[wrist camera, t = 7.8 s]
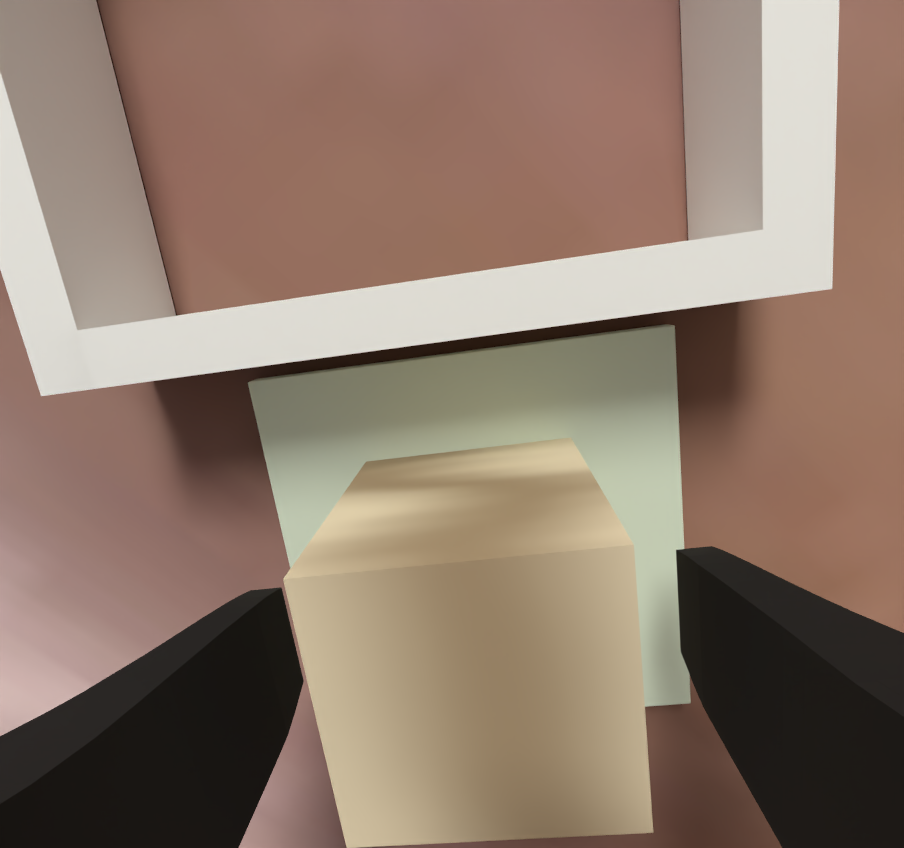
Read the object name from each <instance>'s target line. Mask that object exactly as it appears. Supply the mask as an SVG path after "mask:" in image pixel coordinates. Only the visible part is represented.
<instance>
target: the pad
mask: <svg viewBox="0 0 904 848" xmlns="http://www.w3.org/2000/svg"><path fill="white" fill-rule="evenodd" d="M248 386H249V391H250V395H251V399H252V404H253V408H254V412H255V417H256V421H257V425H258V430H259V434H260V438H261V443H262V447H263V451H264V456H265V460H266V464H267V469H268V473H269V477H270V482H271V486H272V491H273V495H274V499H275V504H276V508H277V512H278V517H279V521H280V525H281V530H282V534H283V538H284V543H285V547H286V551H287V556H288V560H289V564H290V569H291V567H292V566H293V565H294V563H295V562H296V560H297V559H298V558H299V556H300V555H301V553H302V552H303V550H304V549H305V548H306V546H307V545H308V543H309V542H310V540H311V539H312V538H313V536H314V535H315V533H316V532H317V530H318V529H319V528H320V526H321V525H322V523H323V522H324V521H325V519H326V518H327V516H328V515H329V513H330V512H331V511H332V509H333V508H334V506H335V505H336V503H337V502H338V501H339V499H340V498H341V496H342V495H343V494H344V492H345V491H346V489H347V488H348V486H349V485H350V484H351V482H352V481H353V479H354V478H355V476H356V475H357V474H358V472H359V471H360V469H361V468H362V467H363V465H364V464H365V462H367V461H376V460H384V459H393V458H401V457H410V456H418V455H427V454H435V453H444V452H452V451H461V450H469V449H477V448H486V447H494V446H503V445H511V444H520V443H528V442H537V441H545V440H554V439H562V438H572V440H573V442H574V444H575V445H576V447H577V449H578V450H579V452H580V454H581V455H582V457H583V459H584V461H585V462H586V464H587V466H588V467H589V469H590V471H591V472H592V474H593V476H594V478H595V479H596V481H597V483H598V484H599V486H600V488H601V490H602V491H603V493H604V495H605V496H606V498H607V500H608V501H609V503H610V505H611V507H612V508H613V510H614V512H615V513H616V515H617V517H618V518H619V520H620V522H621V524H622V525H623V527H624V529H625V530H626V532H627V534H628V536H629V537H630V539H631V541H632V542H633V544H634V554H635V568H636V583H637V598H638V613H639V628H640V643H641V658H642V673H643V687H644V702H645V707H646V706H660V705H674V704H689V703H691V700H690V676H689V671H688V669H687V666H686V664H685V661H684V659H683V656H682V654H681V649H680V627H679V606H678V584H677V562H676V550H679V549H684V534H683V510H682V486H681V462H680V439H679V415H678V391H677V367H676V344H675V326H674V325H669V324H664V325H656V326H649V327H641V328H634V329H626V330H619V331H611V332H604V333H596V334H589V335H581V336H574V337H566V338H559V339H551V340H544V341H536V342H529V343H521V344H514V345H506V346H499V347H491V348H484V349H476V350H469V351H461V352H454V353H446V354H439V355H431V356H424V357H417V358H409V359H402V360H394V361H387V362H379V363H372V364H364V365H357V366H349V367H342V368H334V369H327V370H319V371H312V372H304V373H297V374H289V375H282V376H274V377H267V378H259V379H255V380H253V381H250V382H248Z"/></svg>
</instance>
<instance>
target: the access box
mask: <svg viewBox="0 0 904 848" xmlns="http://www.w3.org/2000/svg"><path fill="white" fill-rule="evenodd" d="M680 19H681V48H682V76H683V105H684V133H685V162H686V190H687V219H688V241H682V242H675V243H668V244H662V245H655V246H648V247H641V248H634V249H628V250H621V251H614V252H607V253H600V254H594V255H587V256H580V257H573V258H566V259H559V260H553V261H546V262H539V263H532V264H525V265H519V266H512V267H505V268H498V269H491V270H485V271H478V272H471V273H464V274H457V275H451V276H444V277H437V278H430V279H423V280H416V281H410V282H403V283H396V284H389V285H382V286H376V287H369V288H362V289H355V290H348V291H342V292H335V293H328V294H321V295H314V296H308V297H301V298H294V299H287V300H280V301H274V302H267V303H260V304H253V305H246V306H239V307H233V308H226V309H219V310H212V311H205V312H199V313H192V314H185V315H178V316H176V313H175V309H174V305H173V301H172V297H171V293H170V289H169V285H168V282H167V278H166V274H165V270H164V266H163V262H162V258H161V254H160V250H159V246H158V242H157V238H156V234H155V230H154V226H153V222H152V218H151V215H150V211H149V207H148V203H147V199H146V195H145V191H144V187H143V183H142V179H141V175H140V171H139V167H138V163H137V159H136V155H135V152H134V148H133V144H132V140H131V136H130V132H129V128H128V124H127V120H126V116H125V112H124V108H123V104H122V100H121V96H120V92H119V88H118V85H117V81H116V77H115V73H114V69H113V65H112V61H111V57H110V53H109V49H108V45H107V41H106V37H105V33H104V29H103V25H102V22H101V18H100V14H99V10H98V6H97V2H96V0H0V270H1V273H2V276H3V279H4V282H5V285H6V288H7V291H8V295H9V298H10V301H11V304H12V307H13V310H14V313H15V316H16V319H17V322H18V326H19V329H20V332H21V335H22V338H23V341H24V344H25V347H26V350H27V353H28V357H29V360H30V363H31V366H32V369H33V372H34V375H35V378H36V381H37V385H38V388H39V391H40V394H41V396H46V395H53V394H61V393H68V392H75V391H83V390H90V389H97V388H105V387H112V386H119V385H127V384H134V383H142V382H149V381H156V380H164V379H171V378H178V377H186V376H193V375H201V374H208V373H215V372H223V371H230V370H237V369H245V368H252V367H260V366H267V365H274V364H282V363H289V362H296V361H304V360H311V359H319V358H326V357H333V356H341V355H348V354H355V353H363V352H370V351H378V350H385V349H392V348H400V347H407V346H414V345H422V344H429V343H437V342H444V341H451V340H459V339H466V338H473V337H481V336H488V335H496V334H503V333H510V332H518V331H525V330H532V329H540V328H547V327H554V326H562V325H569V324H577V323H584V322H591V321H599V320H606V319H613V318H621V317H628V316H636V315H643V314H650V313H658V312H665V311H672V310H680V309H687V308H695V307H702V306H709V305H717V304H724V303H731V302H739V301H746V300H754V299H761V298H768V297H776V296H783V295H790V294H798V293H805V292H813V291H820V290H827V289H832V275H833V234H834V194H835V153H836V113H837V72H838V32H839V0H680Z"/></svg>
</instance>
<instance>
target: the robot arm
mask: <svg viewBox="0 0 904 848" xmlns="http://www.w3.org/2000/svg"><path fill="white" fill-rule="evenodd" d="M676 562H677V584H678V606H679V627H680V649H681V654H682V656H683V659H684V661H685V664H686V666H687V669H688V671H689V674H690V676H691V679H692V681H693V684H694V686H695V688H696V691H697V693H698V695H699V698H700V700H701V702H702V705H703V707H704V709H705V711H706V713H707V714H708V716H709V718H710V720H711V722H712V723H713V725H714V727H715V729H716V731H717V732H718V734H719V736H720V738H721V740H722V741H723V743H724V745H725V747H726V749H727V750H728V752H729V754H730V756H731V758H732V759H733V761H734V763H735V765H736V766H737V768H738V770H739V772H740V773H741V775H742V777H743V779H744V780H745V782H746V784H747V786H748V788H749V789H750V791H751V793H752V795H753V796H754V798H755V800H756V802H757V803H758V805H759V807H760V809H761V811H762V812H763V814H764V816H765V818H766V819H767V821H768V823H769V825H770V826H771V828H772V830H773V832H774V834H775V835H776V837H777V839H778V841H779V842H780V844H781V846H782V848H904V633H902V632H900V631H897V630H895V629H893V628H890V627H888V626H885V625H883V624H881V623H878V622H876V621H874V620H871V619H869V618H866V617H864V616H862V615H859V614H857V613H855V612H852V611H850V610H848V609H846V608H843V607H841V606H839V605H837V604H835V603H832V602H830V601H828V600H826V599H824V598H821V597H819V596H817V595H815V594H813V593H811V592H809V591H807V590H804V589H802V588H800V587H798V586H796V585H794V584H792V583H790V582H788V581H786V580H784V579H782V578H780V577H778V576H775V575H773V574H771V573H769V572H767V571H765V570H763V569H761V568H759V567H757V566H755V565H753V564H751V563H749V562H747V561H745V560H743V559H741V558H738V557H736V556H734V555H732V554H730V553H728V552H725V551H723V550H720V549H718V548H715V547H712V546H711V547H700V548H690V549H679V550H676ZM302 685H303V677H302V673H301V668H300V664H299V660H298V656H297V651H296V647H295V643H294V639H293V635H292V630H291V626H290V622H289V618H288V613H287V609H286V605H285V601H284V597H283V592H282V588H272V589H261V590H251V591H249V592H246V593H244V594H242V595H240V596H238V597H237V598H235V599H233V600H231V601H229V602H228V603H226V604H224V605H223V606H221V607H219V608H218V609H216V610H215V611H213V612H211V613H210V614H208V615H207V616H205V617H203V618H202V619H200V620H199V621H197V622H196V623H194V624H192V625H191V626H189V627H188V628H186V629H185V630H183V631H181V632H180V633H178V634H177V635H175V636H174V637H172V638H171V639H169V640H167V641H166V642H164V643H163V644H161V645H160V646H158V647H156V648H155V649H153V650H152V651H150V652H149V653H147V654H145V655H144V656H142V657H140V658H139V659H137V660H135V661H134V662H132V663H131V664H129V665H127V666H126V667H124V668H122V669H121V670H119V671H117V672H116V673H114V674H112V675H111V676H109V677H107V678H106V679H104V680H102V681H101V682H99V683H97V684H96V685H94V686H92V687H91V688H89V689H87V690H86V691H84V692H82V693H81V694H79V695H77V696H75V697H74V698H72V699H70V700H68V701H66V702H65V703H63V704H61V705H59V706H57V707H55V708H54V709H52V710H50V711H48V712H46V713H44V714H43V715H41V716H39V717H37V718H35V719H33V720H31V721H29V722H27V723H25V724H23V725H21V726H19V727H18V728H16V729H14V730H12V731H10V732H8V733H6V734H4V735H2V736H0V848H238V847H239V845H240V843H241V841H242V838H243V836H244V834H245V832H246V829H247V827H248V825H249V823H250V820H251V818H252V816H253V814H254V811H255V809H256V807H257V805H258V802H259V800H260V798H261V796H262V794H263V791H264V789H265V787H266V785H267V782H268V780H269V778H270V775H271V773H272V771H273V768H274V766H275V764H276V762H277V759H278V757H279V755H280V752H281V750H282V748H283V745H284V743H285V740H286V738H287V736H288V733H289V729H290V726H291V723H292V720H293V717H294V714H295V710H296V707H297V703H298V699H299V696H300V692H301V689H302Z"/></svg>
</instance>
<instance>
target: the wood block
mask: <svg viewBox="0 0 904 848" xmlns="http://www.w3.org/2000/svg"><path fill="white" fill-rule="evenodd" d="M283 580H284V585H285V589H286V593H287V597H288V602H289V606H290V610H291V614H292V619H293V623H294V627H295V631H296V636H297V640H298V644H299V648H300V652H301V657H302V661H303V665H304V669H305V674H306V678H307V682H308V686H309V691H310V695H311V699H312V703H313V708H314V712H315V716H316V720H317V724H318V729H319V733H320V737H321V741H322V746H323V750H324V754H325V758H326V763H327V767H328V771H329V775H330V780H331V784H332V788H333V792H334V797H335V801H336V805H337V809H338V813H339V818H340V822H341V826H342V830H343V835H344V839H345V843H346V847H347V848H357V847H377V846H397V845H417V844H437V843H457V842H477V841H497V840H517V839H537V838H558V837H578V836H598V835H618V834H638V833H653V821H652V807H651V792H650V777H649V762H648V747H647V732H646V717H645V702H644V687H643V673H642V658H641V643H640V628H639V613H638V598H637V583H636V568H635V554H634V544H633V542H632V541H631V539H630V537H629V536H628V534H627V532H626V530H625V529H624V527H623V525H622V524H621V522H620V520H619V518H618V517H617V515H616V513H615V512H614V510H613V508H612V507H611V505H610V503H609V501H608V500H607V498H606V496H605V495H604V493H603V491H602V490H601V488H600V486H599V484H598V483H597V481H596V479H595V478H594V476H593V474H592V472H591V471H590V469H589V467H588V466H587V464H586V462H585V461H584V459H583V457H582V455H581V454H580V452H579V450H578V449H577V447H576V445H575V444H574V442H573V440H572V438H562V439H554V440H545V441H537V442H528V443H520V444H511V445H503V446H494V447H486V448H477V449H469V450H461V451H452V452H444V453H435V454H427V455H418V456H410V457H401V458H393V459H384V460H376V461H367V462H365V464H364V465H363V467H362V468H361V469H360V471H359V472H358V474H357V475H356V476H355V478H354V479H353V481H352V482H351V484H350V485H349V486H348V488H347V489H346V491H345V492H344V494H343V495H342V496H341V498H340V499H339V501H338V502H337V503H336V505H335V506H334V508H333V509H332V511H331V512H330V513H329V515H328V516H327V518H326V519H325V521H324V522H323V523H322V525H321V526H320V528H319V529H318V530H317V532H316V533H315V535H314V536H313V538H312V539H311V540H310V542H309V543H308V545H307V546H306V548H305V549H304V550H303V552H302V553H301V555H300V556H299V558H298V559H297V560H296V562H295V563H294V565H293V566H292V567H291V569H290V570H289V572H288V573H287V575H286V576H285V577H284V579H283Z"/></svg>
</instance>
